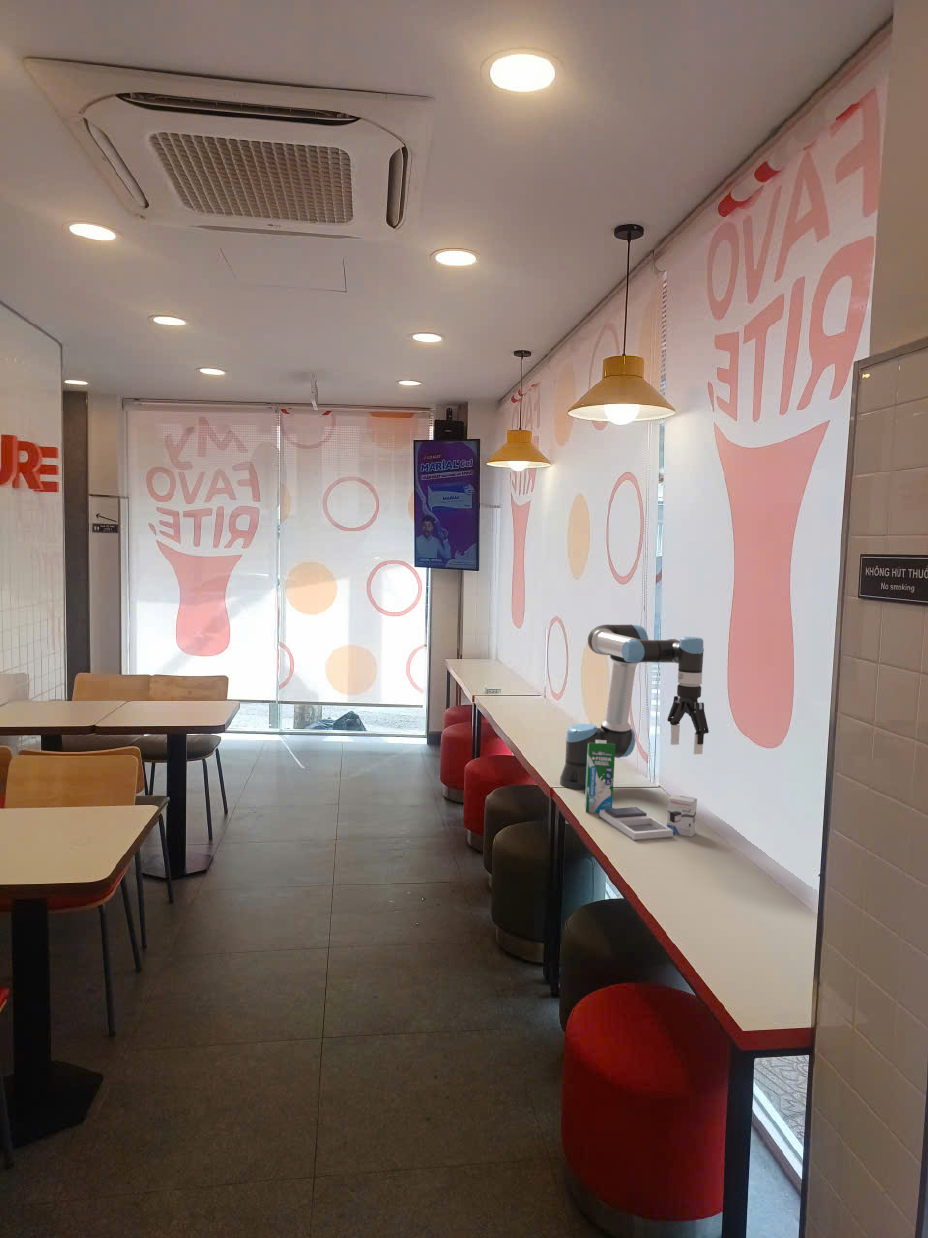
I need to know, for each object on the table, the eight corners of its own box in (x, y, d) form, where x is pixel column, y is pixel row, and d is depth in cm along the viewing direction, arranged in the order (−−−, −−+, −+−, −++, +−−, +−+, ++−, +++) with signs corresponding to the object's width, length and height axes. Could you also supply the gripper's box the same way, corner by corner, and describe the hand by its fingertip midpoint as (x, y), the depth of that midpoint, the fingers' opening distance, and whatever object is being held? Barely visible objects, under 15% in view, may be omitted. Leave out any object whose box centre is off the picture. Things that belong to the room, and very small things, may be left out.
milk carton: (609, 806, 298) (613, 738, 296) (611, 814, 290) (615, 743, 287) (584, 804, 299) (587, 736, 297) (585, 812, 290) (589, 742, 288)
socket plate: (599, 817, 286) (599, 810, 286) (635, 814, 290) (635, 807, 290) (634, 841, 263) (634, 833, 263) (672, 837, 267) (673, 830, 267)
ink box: (665, 832, 273) (667, 797, 272) (669, 828, 277) (671, 793, 276) (692, 837, 269) (694, 801, 268) (695, 832, 273) (697, 798, 272)
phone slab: (605, 811, 284) (605, 809, 284) (636, 809, 288) (636, 806, 288) (614, 818, 277) (614, 815, 277) (646, 815, 281) (646, 813, 281)
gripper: (659, 679, 279) (655, 741, 281) (701, 691, 255) (698, 758, 257) (678, 678, 281) (675, 740, 283) (722, 690, 258) (718, 757, 259)
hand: (686, 749), depth 270 cm, fingers open, 13 cm apart
